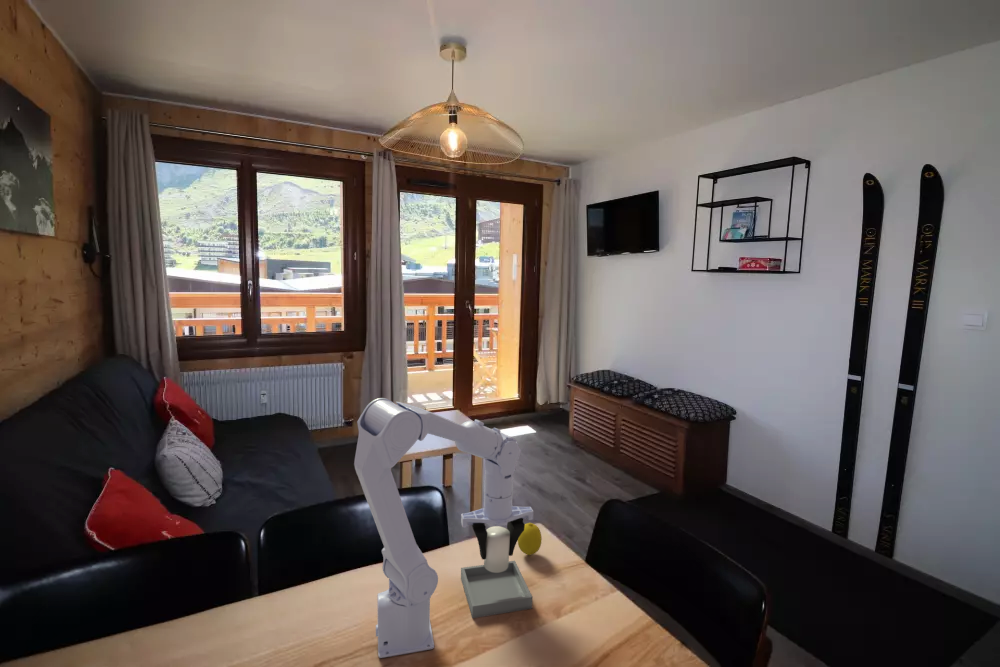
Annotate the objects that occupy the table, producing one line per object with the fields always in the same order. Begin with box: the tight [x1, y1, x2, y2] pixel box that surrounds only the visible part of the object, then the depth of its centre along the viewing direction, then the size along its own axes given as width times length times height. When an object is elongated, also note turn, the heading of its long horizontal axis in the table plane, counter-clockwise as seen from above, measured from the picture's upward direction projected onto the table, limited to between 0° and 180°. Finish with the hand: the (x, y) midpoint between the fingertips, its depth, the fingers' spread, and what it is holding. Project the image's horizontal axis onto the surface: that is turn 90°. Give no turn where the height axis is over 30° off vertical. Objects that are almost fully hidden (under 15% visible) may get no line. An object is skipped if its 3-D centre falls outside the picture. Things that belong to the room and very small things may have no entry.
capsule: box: [483, 525, 510, 573], centre depth 99 cm, size 5×5×7 cm
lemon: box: [517, 522, 543, 556], centre depth 113 cm, size 6×6×8 cm
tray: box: [460, 560, 533, 619], centre depth 100 cm, size 12×12×2 cm
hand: (496, 554), depth 99 cm, fingers closed on capsule, 5 cm apart
